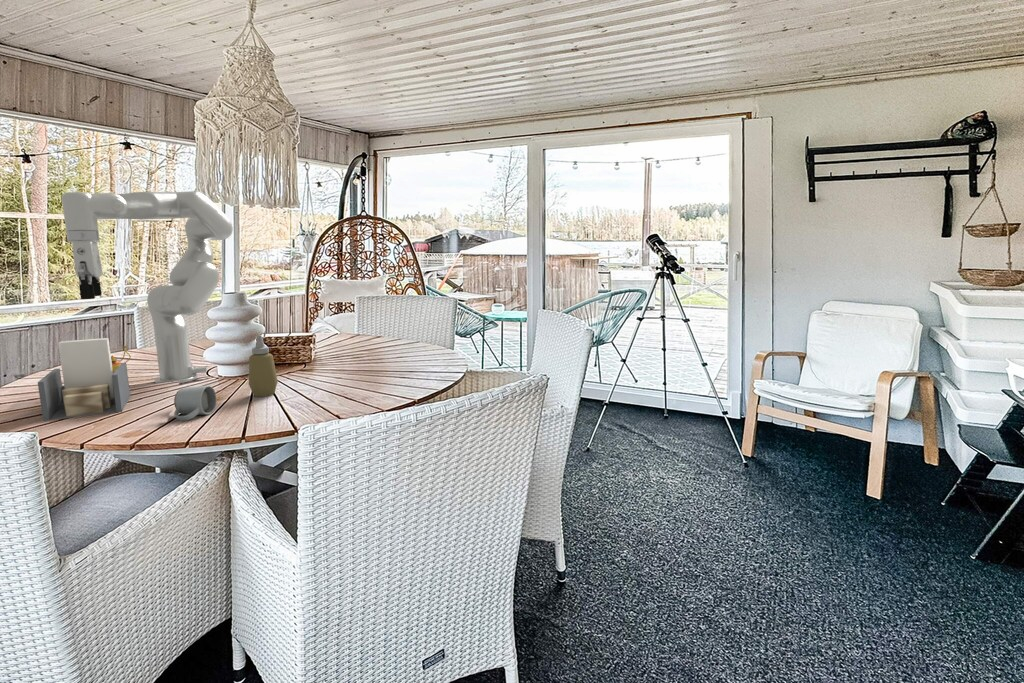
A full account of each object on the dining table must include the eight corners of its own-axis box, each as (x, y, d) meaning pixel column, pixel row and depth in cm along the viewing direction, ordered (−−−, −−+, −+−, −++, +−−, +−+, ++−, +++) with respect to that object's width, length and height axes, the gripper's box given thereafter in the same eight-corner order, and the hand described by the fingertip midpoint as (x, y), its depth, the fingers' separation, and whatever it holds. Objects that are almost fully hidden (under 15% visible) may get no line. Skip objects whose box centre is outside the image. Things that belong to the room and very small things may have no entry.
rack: (131, 401, 178) (126, 362, 176) (122, 417, 162) (117, 374, 160) (60, 409, 171) (54, 368, 169) (44, 426, 155) (37, 382, 153)
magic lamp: (89, 374, 215) (85, 343, 214) (139, 374, 215) (135, 343, 213) (75, 379, 209) (70, 347, 207) (126, 378, 208) (122, 346, 206)
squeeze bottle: (284, 392, 186) (279, 333, 183) (265, 398, 178) (260, 338, 175) (262, 390, 189) (257, 332, 186) (243, 397, 181) (238, 337, 178)
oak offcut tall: (111, 405, 169) (108, 384, 168) (109, 407, 166) (107, 386, 165) (67, 410, 164) (64, 388, 163) (65, 412, 162) (62, 390, 161)
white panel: (116, 400, 174) (108, 337, 171) (115, 402, 171) (106, 339, 168) (69, 405, 169) (60, 341, 166) (67, 408, 166) (58, 342, 163)
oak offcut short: (104, 409, 165) (102, 391, 164) (103, 412, 162) (100, 393, 161) (69, 413, 161) (66, 394, 160) (66, 416, 158) (63, 397, 158)
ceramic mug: (189, 409, 168) (186, 382, 167) (218, 409, 168) (215, 382, 166) (166, 422, 158) (162, 393, 156) (197, 422, 157) (193, 393, 156)
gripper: (92, 236, 167) (101, 299, 170) (104, 237, 182) (112, 294, 185) (59, 237, 164) (68, 301, 167) (74, 237, 179) (82, 295, 182)
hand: (91, 297), depth 176 cm, fingers open, 9 cm apart
